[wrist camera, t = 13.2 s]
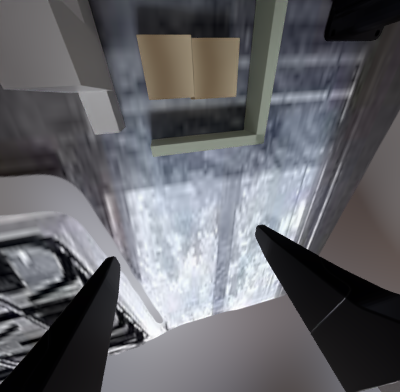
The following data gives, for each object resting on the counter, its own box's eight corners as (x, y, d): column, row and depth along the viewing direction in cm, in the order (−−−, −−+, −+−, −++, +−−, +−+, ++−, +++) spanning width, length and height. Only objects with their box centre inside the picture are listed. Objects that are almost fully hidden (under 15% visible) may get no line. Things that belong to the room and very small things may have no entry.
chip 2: (228, 46, 14) (239, 38, 12) (226, 96, 17) (235, 96, 15) (186, 46, 14) (191, 37, 12) (190, 99, 16) (194, 99, 14)
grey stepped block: (93, -9, 11) (-40, -225, 4) (130, 126, 16) (106, 151, 9) (46, -11, 11) (-217, -264, 3) (99, 129, 15) (46, 157, 8)
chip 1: (185, 44, 14) (190, 34, 12) (189, 97, 16) (194, 97, 14) (139, 44, 13) (136, 34, 11) (150, 99, 15) (149, 100, 13)
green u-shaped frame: (273, -53, 12) (303, -93, 9) (250, 137, 19) (263, 143, 17) (106, -70, 10) (88, -126, 7) (153, 148, 18) (153, 156, 15)
